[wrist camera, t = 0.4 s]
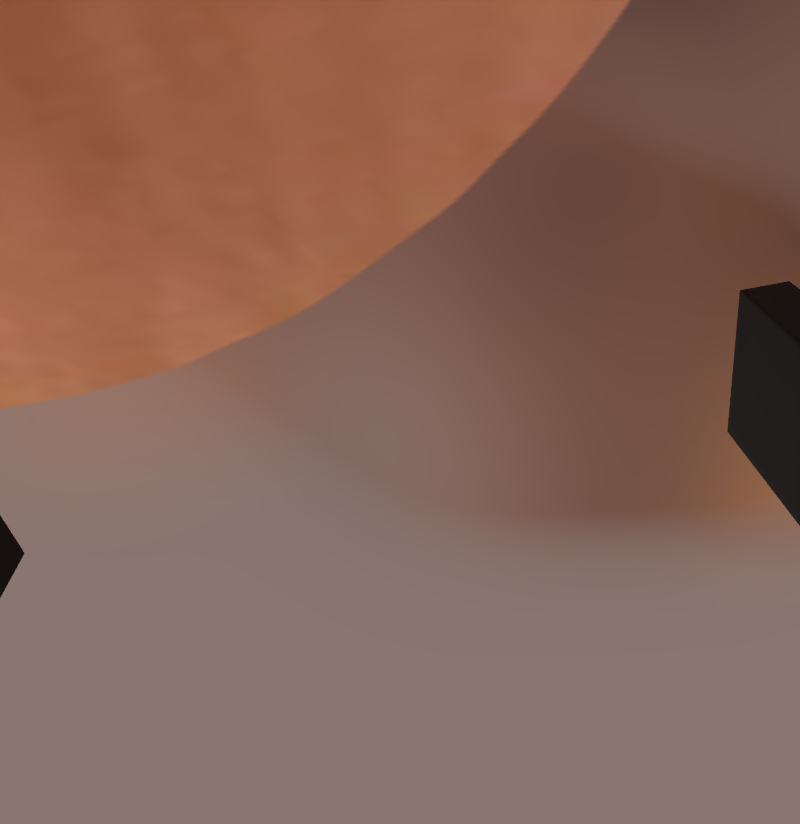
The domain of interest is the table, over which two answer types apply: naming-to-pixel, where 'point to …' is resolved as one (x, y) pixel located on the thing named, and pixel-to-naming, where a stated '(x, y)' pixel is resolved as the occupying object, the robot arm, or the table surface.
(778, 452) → the robot arm
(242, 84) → the table surface
